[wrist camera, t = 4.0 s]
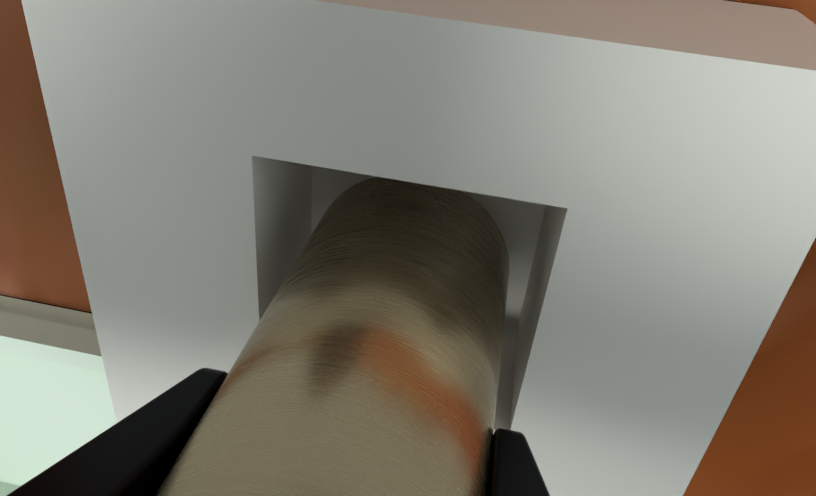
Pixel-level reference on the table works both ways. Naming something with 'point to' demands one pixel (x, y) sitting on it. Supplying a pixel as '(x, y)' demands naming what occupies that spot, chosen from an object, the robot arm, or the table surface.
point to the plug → (366, 359)
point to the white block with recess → (455, 169)
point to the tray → (47, 388)
